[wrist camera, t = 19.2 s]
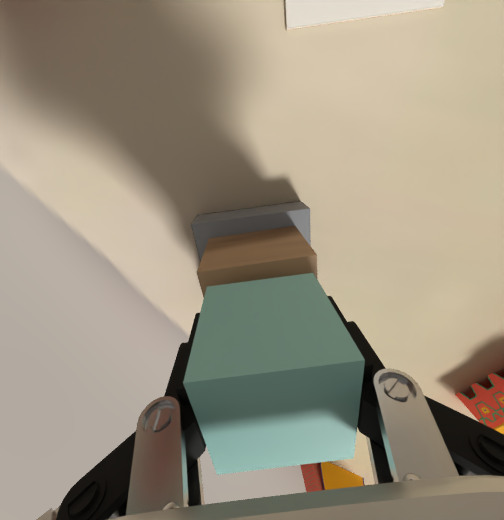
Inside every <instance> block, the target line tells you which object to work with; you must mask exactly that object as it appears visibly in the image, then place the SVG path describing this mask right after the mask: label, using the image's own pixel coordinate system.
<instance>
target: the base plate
mask: <svg viewBox="0 0 504 520" xmlns="http://www.w3.org/2000/svg"><path fill="white" fill-rule="evenodd" d="M191 225H192V230H193V234H194V238H195V242H196V246H197V250H198V254H199V258H200V262H201V259H202V257H203V254H204V251H205V248H206V245H207V243H208V240H209V238H214V237H221V236H228V235H234V234H241V233H248V232H255V231H261V230H268V229H275V228H282V227H288V226H296V227H297V229H298V230H299V231H300V233H301V234H302V235H303V237H304V238H305V239H306V241H307V242H308V244H309V245H310V208H309V207H307V206H306V205H305V204H304V203H303V202H301V201H298V202H291V203H284V204H276V205H269V206H261V207H254V208H247V209H239V210H232V211H224V212H217V213H210V214H202V215H197V217H196V218H195V220H194V221H193V223H192V224H191ZM310 246H311V245H310Z"/></svg>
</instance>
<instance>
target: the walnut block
mask: <svg viewBox="0 0 504 520" xmlns="http://www.w3.org/2000/svg"><path fill="white" fill-rule="evenodd" d="M308 273H314V275H315V277H316V278H317V254H316V253H315V252H314V250H313V249H312V248H311V246H310V245H309V244H308V242H307V241H306V239H305V238H304V237H303V235H302V234H301V233H300V231H299V230H298V229H297V227H296V226H288V227H282V228H275V229H268V230H261V231H255V232H248V233H241V234H234V235H228V236H221V237H214V238H209V240H208V243H207V245H206V248H205V251H204V254H203V257H202V259H201V262H200V265H199V268H198V271H197V275H198V278H199V282H200V286H201V289H202V293H203V297H204V296H205V292H206V288H207V287H208V286H216V285H223V284H231V283H239V282H246V281H254V280H262V279H269V278H277V277H285V276H292V275H300V274H308Z"/></svg>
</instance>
